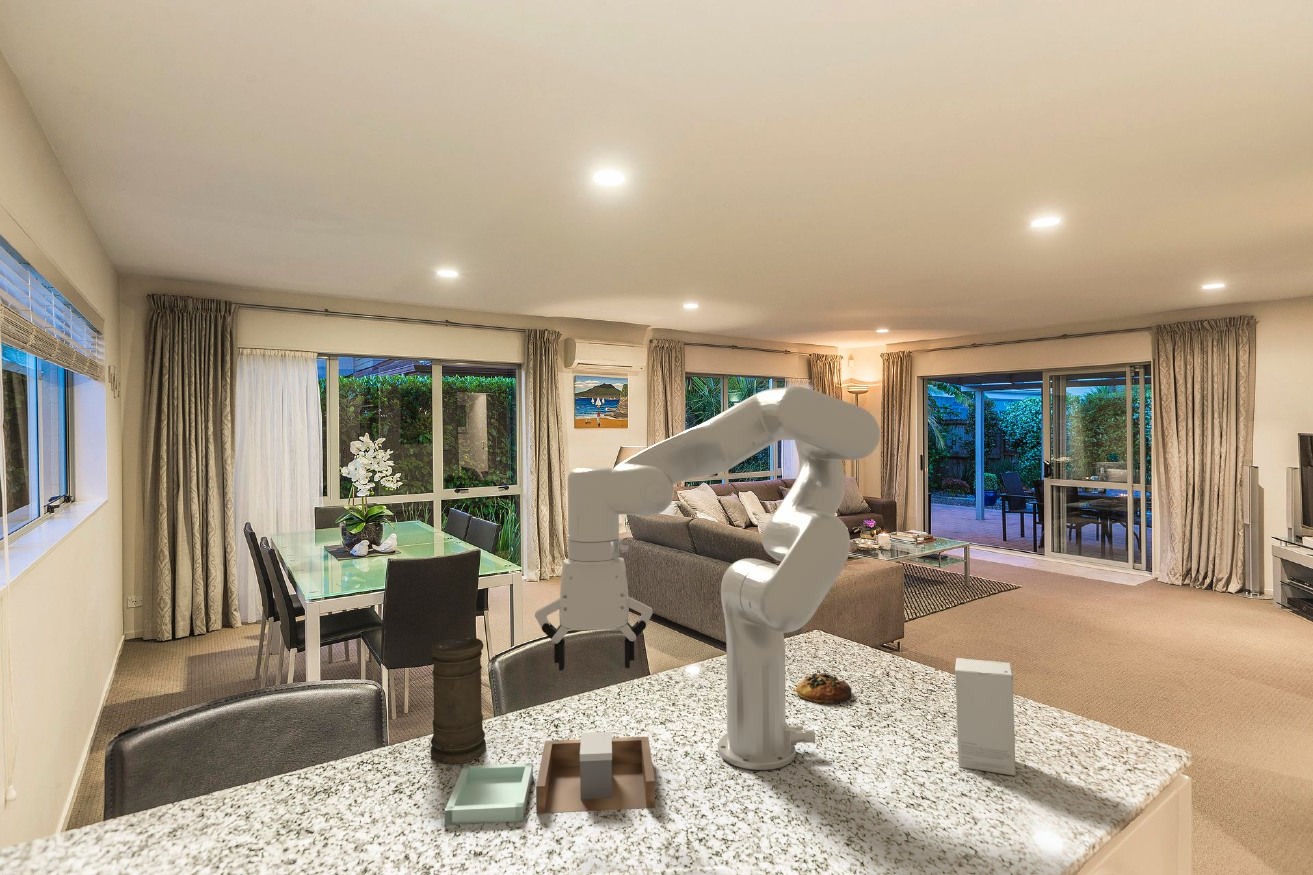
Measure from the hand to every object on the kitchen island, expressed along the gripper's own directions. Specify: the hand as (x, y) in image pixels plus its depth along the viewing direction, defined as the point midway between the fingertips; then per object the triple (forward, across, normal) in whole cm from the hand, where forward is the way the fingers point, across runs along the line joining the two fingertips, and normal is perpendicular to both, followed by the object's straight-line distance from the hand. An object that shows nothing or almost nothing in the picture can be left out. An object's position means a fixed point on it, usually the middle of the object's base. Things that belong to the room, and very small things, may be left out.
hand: (594, 666), depth 102 cm
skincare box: (+18, -61, -2) cm, 64 cm away
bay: (+18, 0, 0) cm, 18 cm away
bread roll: (+19, -45, -33) cm, 59 cm away
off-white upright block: (+18, 0, 0) cm, 18 cm away
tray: (+18, +15, +2) cm, 24 cm away
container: (+18, +23, -14) cm, 32 cm away
